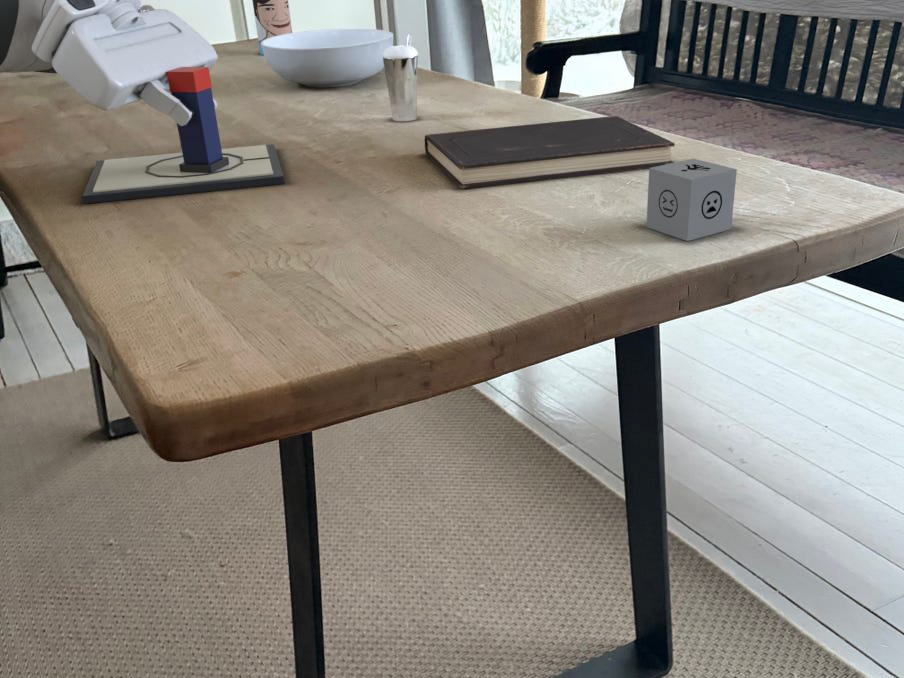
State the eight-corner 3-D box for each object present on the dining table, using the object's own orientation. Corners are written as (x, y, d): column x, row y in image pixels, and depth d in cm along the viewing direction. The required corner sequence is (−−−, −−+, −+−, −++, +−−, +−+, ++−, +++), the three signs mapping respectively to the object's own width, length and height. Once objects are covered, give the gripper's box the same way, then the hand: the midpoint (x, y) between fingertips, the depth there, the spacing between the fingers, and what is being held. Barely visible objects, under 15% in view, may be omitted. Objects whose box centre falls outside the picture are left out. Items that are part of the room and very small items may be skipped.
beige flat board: (83, 204, 95) (81, 193, 95) (98, 167, 109) (96, 157, 108) (284, 183, 99) (283, 173, 99) (275, 150, 113) (273, 141, 112)
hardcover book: (673, 165, 100) (674, 142, 98) (460, 189, 95) (459, 165, 93) (613, 134, 113) (614, 114, 112) (425, 154, 108) (423, 133, 107)
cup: (261, 56, 185) (248, -31, 177) (259, 51, 190) (247, -32, 183) (296, 53, 186) (285, -33, 178) (293, 49, 192) (282, -35, 184)
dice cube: (731, 229, 80) (736, 169, 78) (687, 241, 78) (691, 179, 76) (689, 216, 84) (693, 158, 81) (646, 227, 82) (649, 168, 79)
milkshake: (430, 115, 128) (425, 34, 123) (412, 123, 123) (406, 40, 118) (400, 113, 129) (394, 34, 124) (381, 121, 125) (374, 39, 120)
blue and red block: (180, 172, 101) (161, 72, 96) (198, 163, 104) (181, 66, 99) (211, 173, 100) (194, 72, 95) (229, 164, 103) (213, 66, 98)
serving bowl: (240, 87, 153) (233, 41, 150) (337, 68, 167) (333, 26, 163) (326, 99, 141) (320, 49, 138) (423, 77, 155) (420, 31, 151)
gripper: (141, 26, 107) (233, 117, 110) (19, 53, 90) (132, 160, 93) (167, -19, 104) (262, 76, 106) (46, 1, 87) (162, 113, 89)
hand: (201, 116), depth 99 cm, fingers closed on blue and red block, 3 cm apart
